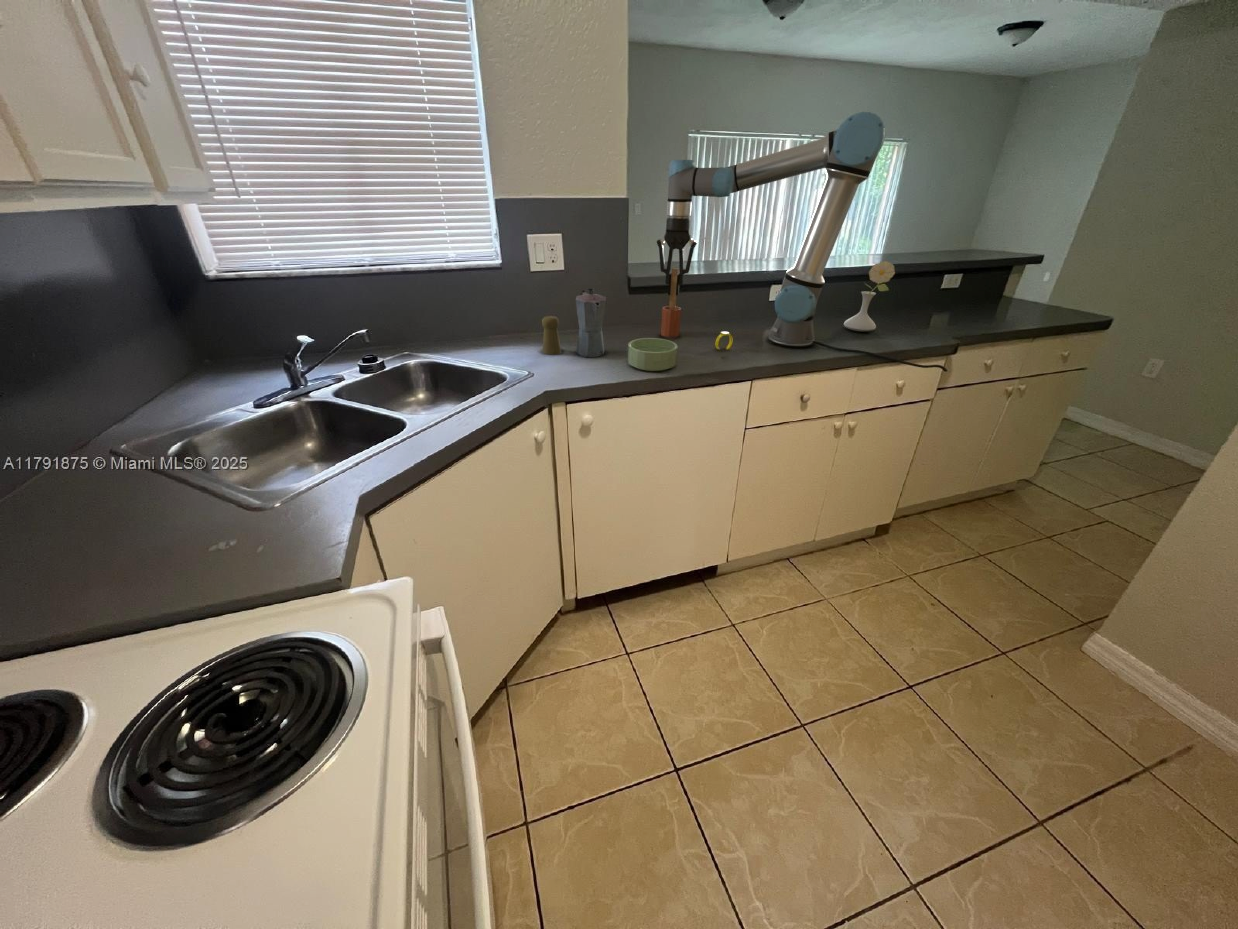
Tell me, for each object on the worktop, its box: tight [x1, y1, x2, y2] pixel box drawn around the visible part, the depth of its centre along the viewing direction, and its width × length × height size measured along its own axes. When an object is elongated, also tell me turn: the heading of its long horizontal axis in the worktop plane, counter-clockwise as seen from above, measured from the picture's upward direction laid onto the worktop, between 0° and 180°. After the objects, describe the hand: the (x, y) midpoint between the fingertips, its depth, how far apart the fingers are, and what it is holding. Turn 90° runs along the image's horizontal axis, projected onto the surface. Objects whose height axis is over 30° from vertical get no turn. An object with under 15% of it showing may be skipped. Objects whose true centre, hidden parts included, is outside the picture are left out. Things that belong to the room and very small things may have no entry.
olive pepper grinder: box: [541, 315, 562, 356], centre depth 153 cm, size 6×6×11 cm
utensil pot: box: [660, 305, 682, 338], centre depth 170 cm, size 6×6×10 cm
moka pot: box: [575, 288, 607, 358], centre depth 150 cm, size 10×15×20 cm, turn 27°
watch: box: [714, 330, 734, 351], centre depth 159 cm, size 6×3×6 cm, turn 114°
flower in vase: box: [843, 260, 896, 333], centre depth 179 cm, size 13×11×25 cm
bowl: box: [627, 337, 678, 372], centre depth 145 cm, size 15×15×6 cm
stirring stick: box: [668, 267, 679, 310], centre depth 166 cm, size 2×2×20 cm
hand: (673, 294), depth 165 cm, fingers closed on stirring stick, 2 cm apart
